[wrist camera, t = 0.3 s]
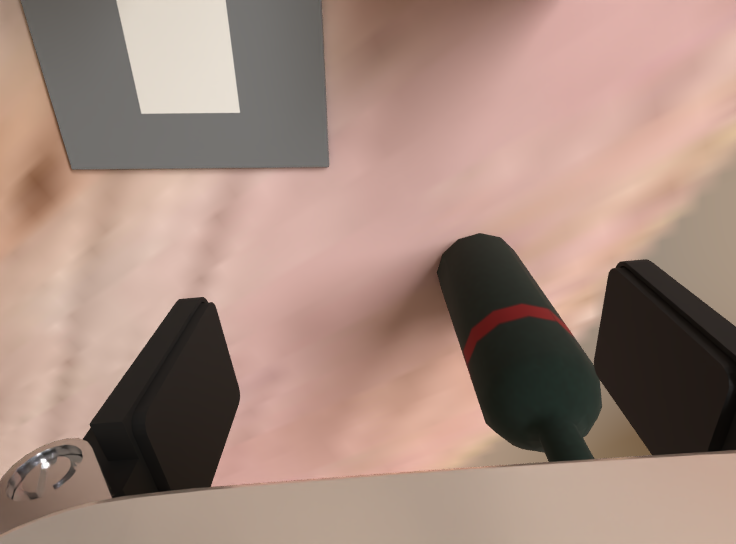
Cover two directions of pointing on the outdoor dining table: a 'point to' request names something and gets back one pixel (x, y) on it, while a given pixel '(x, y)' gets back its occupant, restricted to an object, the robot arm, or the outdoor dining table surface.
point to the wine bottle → (519, 351)
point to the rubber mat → (185, 81)
